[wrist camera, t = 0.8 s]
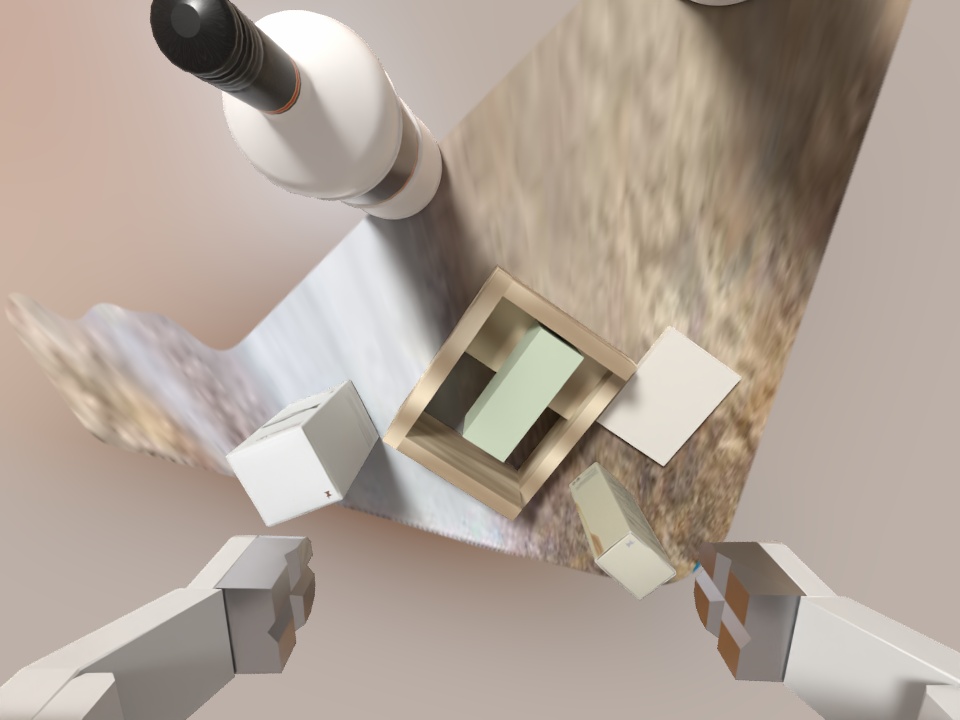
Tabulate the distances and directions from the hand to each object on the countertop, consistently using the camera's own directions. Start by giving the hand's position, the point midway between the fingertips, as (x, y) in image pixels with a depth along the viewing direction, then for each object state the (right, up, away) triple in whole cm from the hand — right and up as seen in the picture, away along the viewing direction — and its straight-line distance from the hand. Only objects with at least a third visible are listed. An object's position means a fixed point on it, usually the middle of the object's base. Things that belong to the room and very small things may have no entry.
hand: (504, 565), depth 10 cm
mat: (+19, 0, +38) cm, 42 cm away
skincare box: (+13, -10, +41) cm, 44 cm away
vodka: (-9, +22, +33) cm, 41 cm away
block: (+3, +2, +35) cm, 36 cm away
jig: (+3, +2, +38) cm, 38 cm away
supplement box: (-16, -2, +40) cm, 43 cm away
